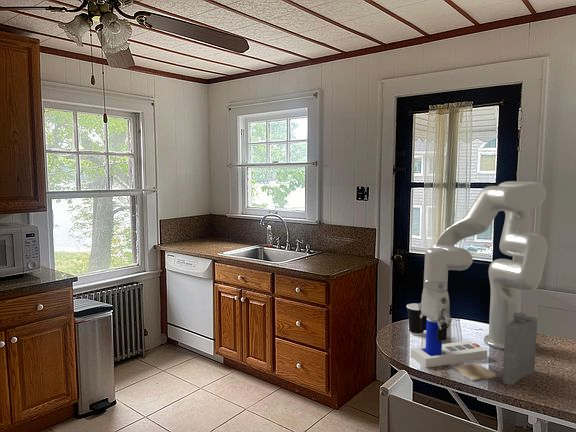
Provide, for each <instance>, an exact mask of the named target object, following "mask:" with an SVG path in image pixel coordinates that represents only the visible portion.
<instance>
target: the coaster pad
mask: <svg viewBox="0 0 576 432" xmlns="http://www.w3.org/2000/svg"><path fill="white" fill-rule="evenodd" d="M453 369H455V371H457V372H458V373H460V374H461V375H463V376H465V377H466V378H468V379H469V380H470V381H472V382H474V381H475V382H476V381H479V380H486V379H493V378H497V377H498V375H497V374H496V373H494V372H493V371H491V370H489V369H488V368H486V367H484V366H483V365H481V364H479V363H478V362H477V363H469V364H462V365H456V366H453Z"/></svg>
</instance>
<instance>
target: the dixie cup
mask: <svg viewBox="0 0 576 432" xmlns="http://www.w3.org/2000/svg"><path fill="white" fill-rule="evenodd" d="M418 304H419V303H408V304H406V308H407V317H408V318H407V320H408V330H409V334H410V335H411V334H412V335H411V336H415V337H420V336H423V334H424V332H425V330H423V331H421V330H420V321H421V319H420V313H419V307H418Z"/></svg>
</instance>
